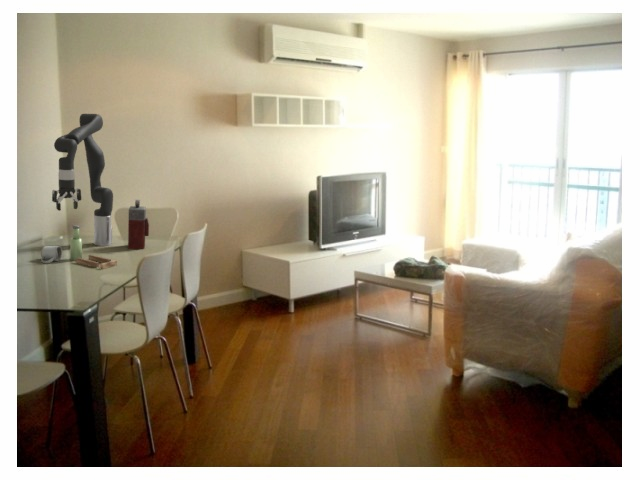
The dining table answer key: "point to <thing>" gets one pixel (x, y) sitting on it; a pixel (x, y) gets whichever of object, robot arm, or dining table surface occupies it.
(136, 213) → the dark red tall container
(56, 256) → the ceramic mug
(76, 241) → the bottle
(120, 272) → the dining table surface
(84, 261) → the rest
